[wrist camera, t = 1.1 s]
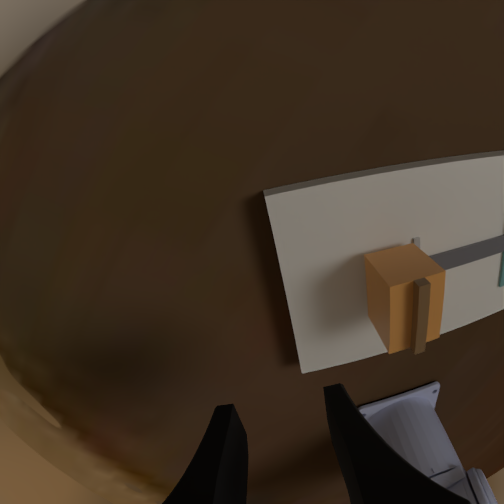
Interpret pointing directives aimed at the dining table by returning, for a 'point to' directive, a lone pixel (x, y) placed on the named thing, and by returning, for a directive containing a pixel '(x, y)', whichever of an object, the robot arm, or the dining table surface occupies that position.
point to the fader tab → (404, 297)
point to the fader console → (386, 246)
